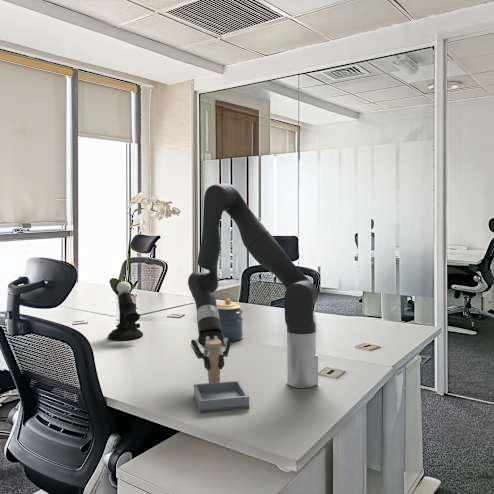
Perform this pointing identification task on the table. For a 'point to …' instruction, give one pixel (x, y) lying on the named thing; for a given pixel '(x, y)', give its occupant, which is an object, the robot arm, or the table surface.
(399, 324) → the table surface
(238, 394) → the tray
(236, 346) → the table surface
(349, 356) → the table surface
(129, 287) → the sculpture
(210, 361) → the beige club-shaped piece
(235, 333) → the canister
